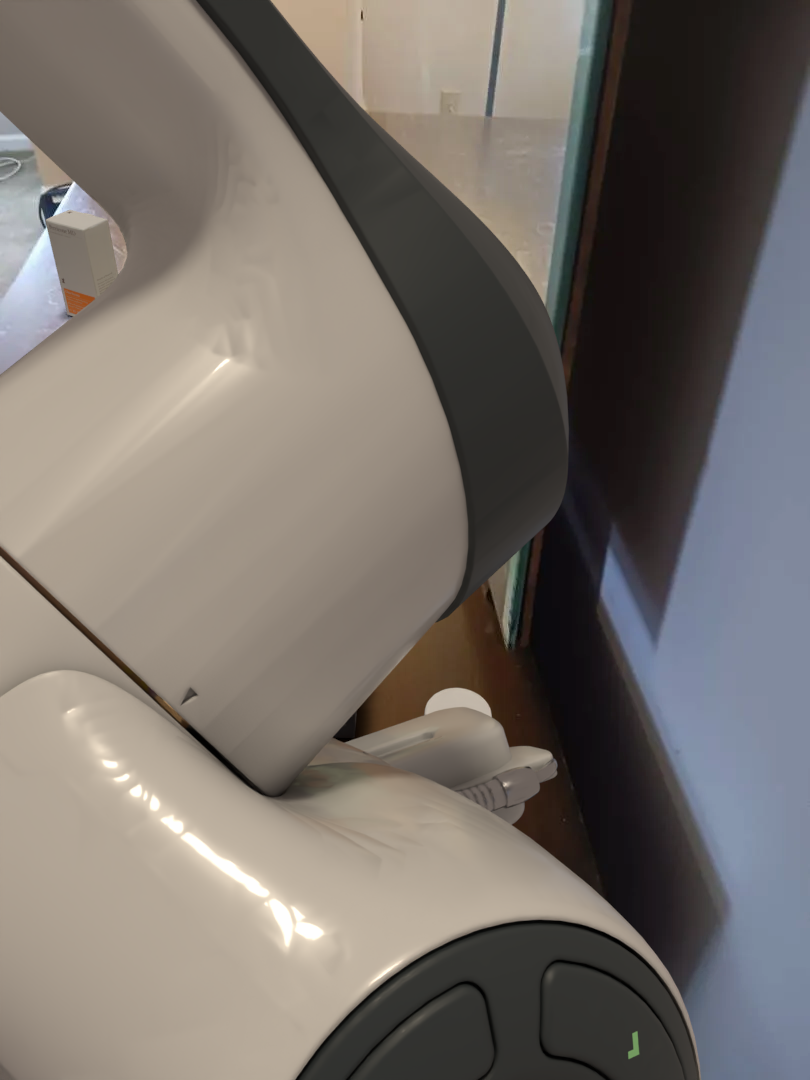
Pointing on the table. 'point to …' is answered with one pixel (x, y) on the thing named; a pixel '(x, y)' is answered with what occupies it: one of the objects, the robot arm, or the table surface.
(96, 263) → the cosmetic box
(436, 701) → the pill bottle
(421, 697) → the table surface
